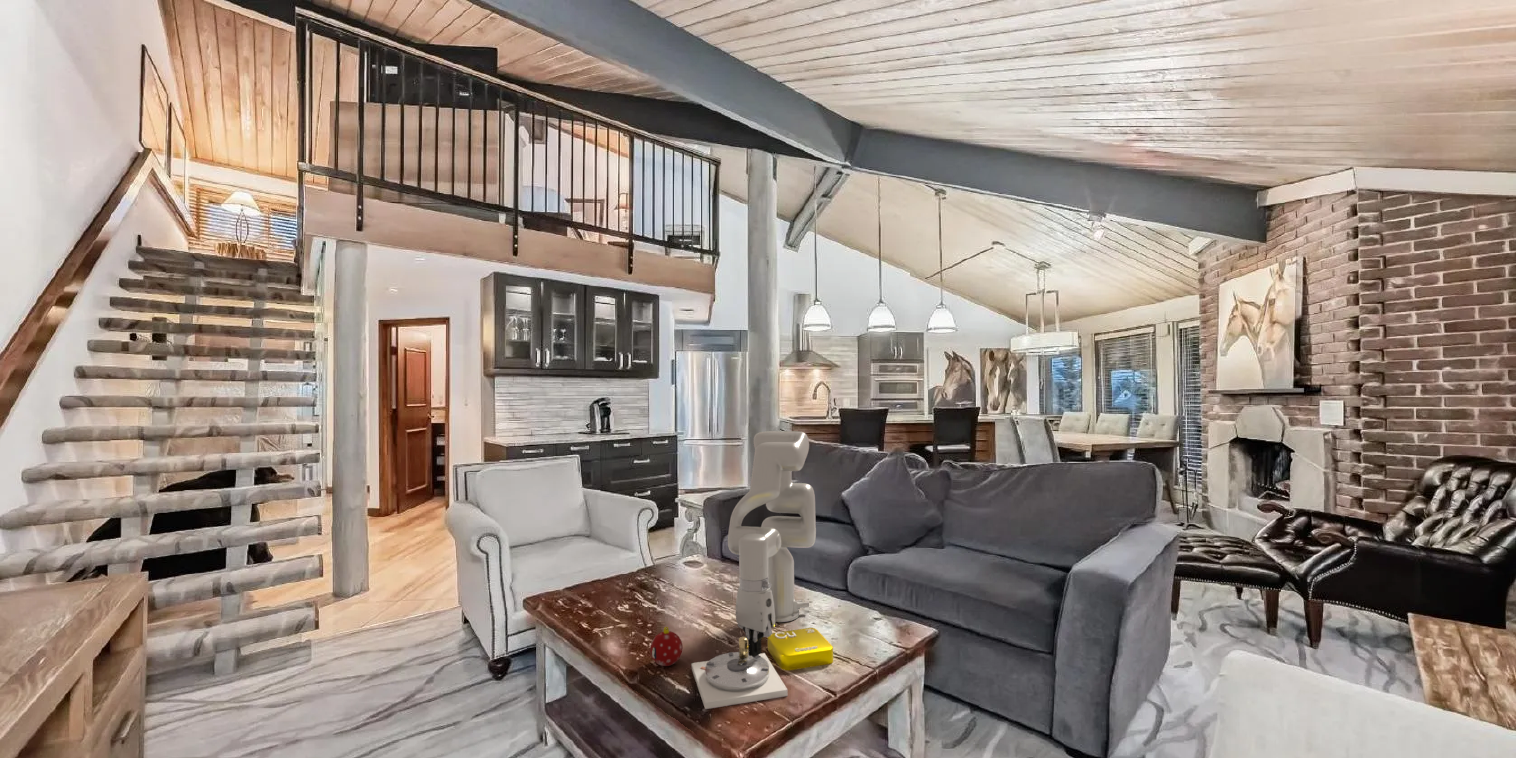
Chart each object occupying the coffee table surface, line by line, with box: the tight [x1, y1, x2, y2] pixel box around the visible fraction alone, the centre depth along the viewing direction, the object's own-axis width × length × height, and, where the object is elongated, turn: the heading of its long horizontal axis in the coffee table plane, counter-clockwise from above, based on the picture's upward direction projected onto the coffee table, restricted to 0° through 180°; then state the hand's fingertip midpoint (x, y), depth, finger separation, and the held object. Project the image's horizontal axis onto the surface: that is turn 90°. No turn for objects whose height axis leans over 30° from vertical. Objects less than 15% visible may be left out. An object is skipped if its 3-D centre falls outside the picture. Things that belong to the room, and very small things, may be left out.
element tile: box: [767, 627, 834, 671], centre depth 165 cm, size 15×15×5 cm
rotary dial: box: [705, 636, 769, 691], centre depth 150 cm, size 16×16×6 cm
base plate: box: [690, 652, 789, 710], centre depth 150 cm, size 20×20×2 cm
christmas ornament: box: [649, 626, 684, 667], centre depth 160 cm, size 9×9×10 cm
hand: (754, 654), depth 154 cm, fingers closed
